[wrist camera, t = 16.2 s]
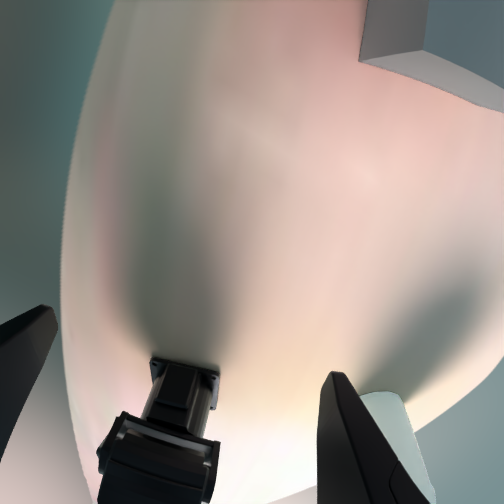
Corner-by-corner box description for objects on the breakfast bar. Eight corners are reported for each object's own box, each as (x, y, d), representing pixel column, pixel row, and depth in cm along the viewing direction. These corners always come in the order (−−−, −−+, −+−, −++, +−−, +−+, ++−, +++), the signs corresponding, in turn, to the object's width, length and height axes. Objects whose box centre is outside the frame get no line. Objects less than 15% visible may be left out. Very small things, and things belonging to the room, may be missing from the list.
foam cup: (311, 403, 29) (307, 528, 17) (399, 369, 25) (424, 504, 14) (350, 436, 32) (353, 535, 21) (424, 408, 28) (442, 513, 17)
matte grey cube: (477, 105, 14) (580, 143, 6) (358, 61, 14) (422, 50, 6) (491, -2, 10) (587, -17, 2) (374, -54, 10) (429, -127, 2)
